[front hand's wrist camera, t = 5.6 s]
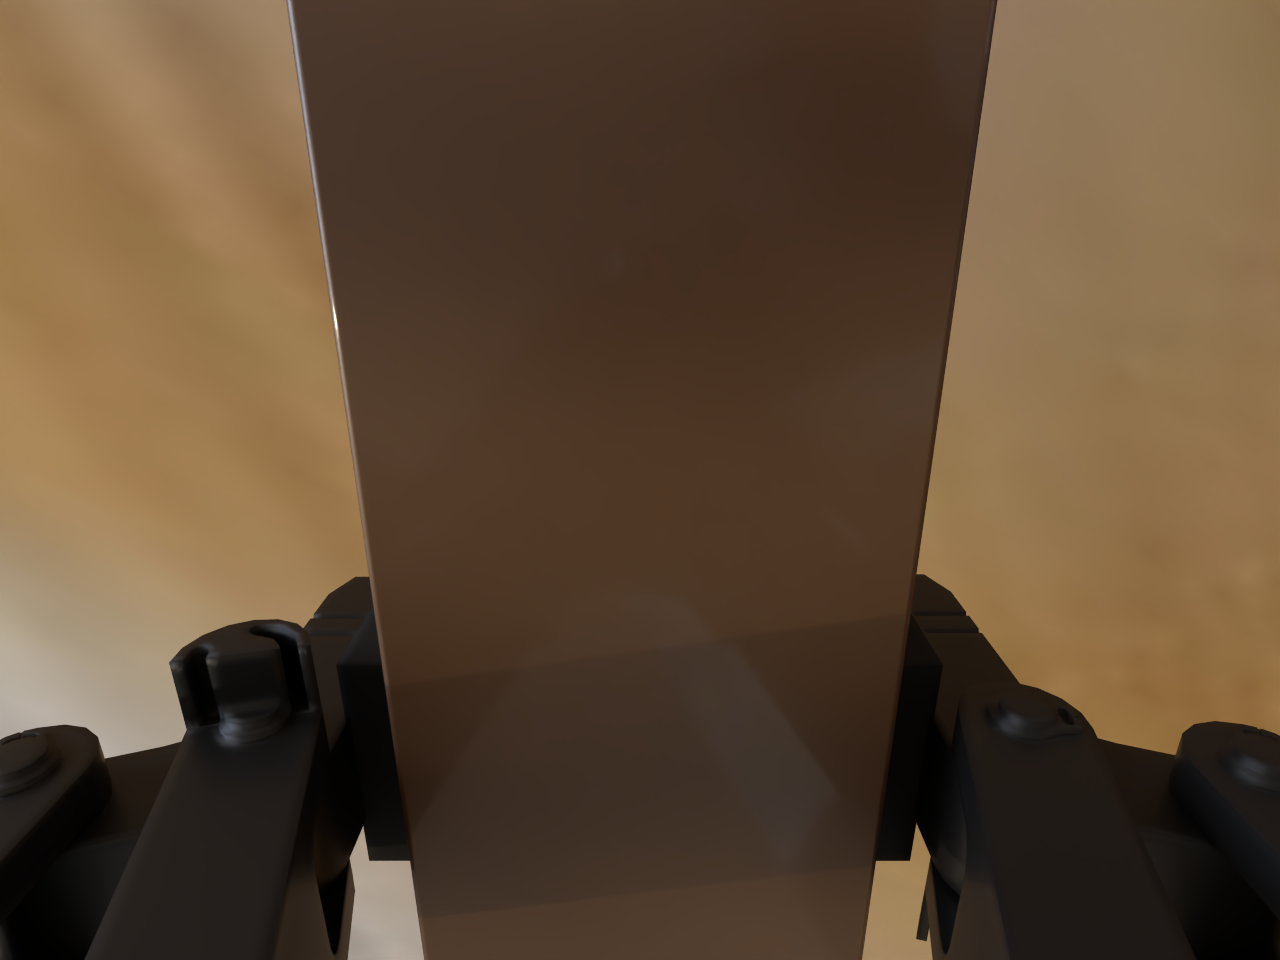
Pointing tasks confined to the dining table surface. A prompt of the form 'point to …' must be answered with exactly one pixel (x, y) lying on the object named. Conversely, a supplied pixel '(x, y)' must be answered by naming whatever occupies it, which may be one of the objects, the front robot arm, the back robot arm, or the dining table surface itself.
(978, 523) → the dining table surface
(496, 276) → the bar
